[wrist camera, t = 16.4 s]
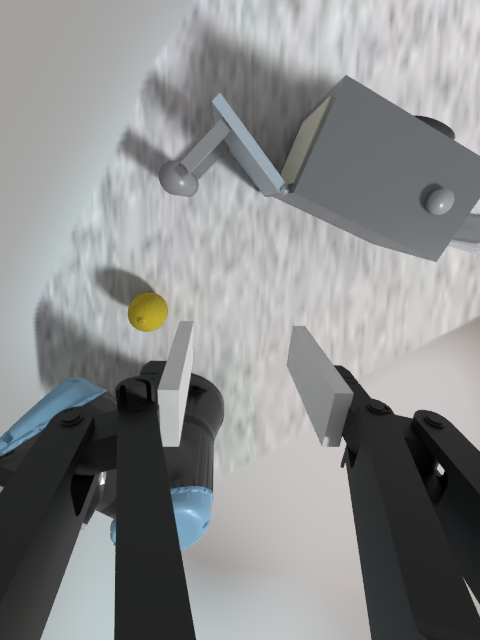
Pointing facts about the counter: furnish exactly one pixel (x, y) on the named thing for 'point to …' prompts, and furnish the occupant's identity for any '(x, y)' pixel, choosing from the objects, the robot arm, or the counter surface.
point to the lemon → (147, 311)
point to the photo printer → (468, 235)
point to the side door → (212, 146)
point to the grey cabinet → (381, 172)
